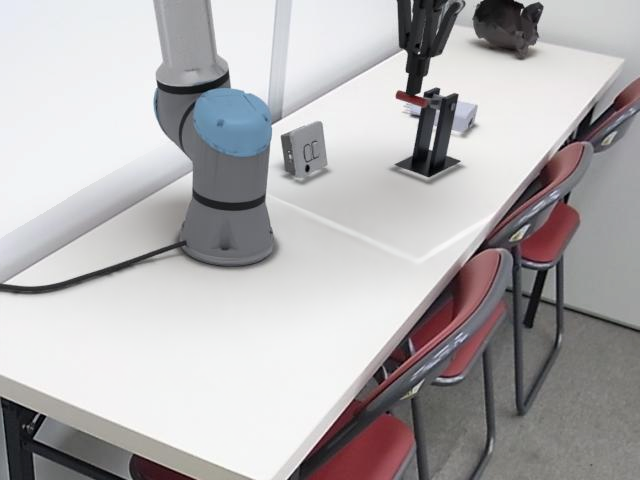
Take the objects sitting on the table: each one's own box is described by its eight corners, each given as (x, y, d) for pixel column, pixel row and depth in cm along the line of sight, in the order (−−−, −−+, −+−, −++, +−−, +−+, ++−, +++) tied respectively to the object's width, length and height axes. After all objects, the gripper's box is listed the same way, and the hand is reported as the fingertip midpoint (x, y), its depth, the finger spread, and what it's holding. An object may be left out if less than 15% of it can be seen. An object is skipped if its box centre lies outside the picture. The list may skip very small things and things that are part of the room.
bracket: (428, 182, 174) (443, 105, 165) (393, 169, 178) (406, 94, 169) (460, 166, 181) (476, 92, 172) (426, 154, 185) (439, 80, 176)
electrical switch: (299, 184, 169) (300, 134, 164) (277, 178, 172) (277, 129, 167) (328, 170, 175) (330, 122, 170) (306, 165, 178) (307, 117, 173)
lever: (421, 110, 161) (426, 96, 160) (393, 101, 164) (397, 87, 163) (454, 113, 172) (458, 100, 171) (427, 105, 174) (431, 92, 173)
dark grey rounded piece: (544, 48, 250) (476, 36, 259) (554, -8, 240) (483, -19, 249) (524, 64, 241) (455, 51, 250) (533, 6, 232) (461, -5, 241)
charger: (409, 110, 205) (474, 124, 201) (396, 121, 199) (462, 137, 194) (413, 88, 203) (478, 103, 198) (399, 100, 196) (467, 115, 191)
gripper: (484, -47, 147) (455, 98, 162) (416, -62, 154) (394, 79, 168) (460, -42, 143) (432, 108, 157) (391, -57, 149) (370, 88, 163)
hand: (412, 93), depth 162 cm, fingers closed
